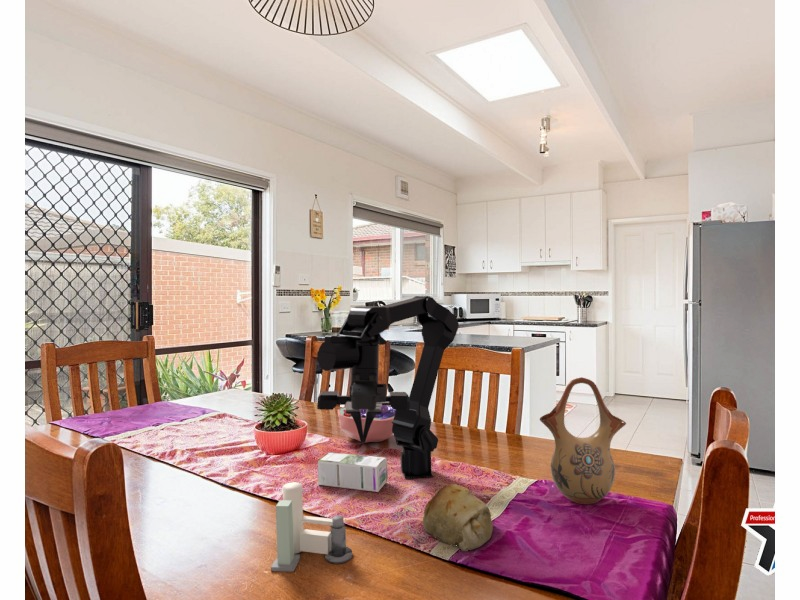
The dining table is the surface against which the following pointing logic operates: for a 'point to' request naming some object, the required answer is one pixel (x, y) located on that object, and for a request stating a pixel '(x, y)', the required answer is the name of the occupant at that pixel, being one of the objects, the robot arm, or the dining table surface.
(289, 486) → the gate
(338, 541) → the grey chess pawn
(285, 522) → the post
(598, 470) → the ceramic vessel
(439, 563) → the dining table surface
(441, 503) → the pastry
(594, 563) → the dining table surface
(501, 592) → the dining table surface
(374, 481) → the syrup box
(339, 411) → the cell model
